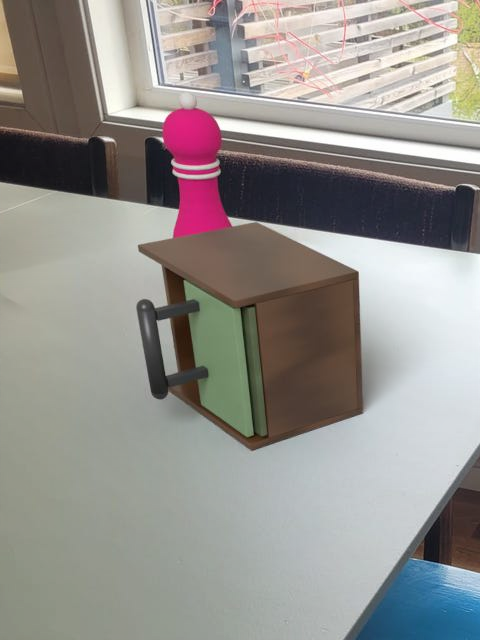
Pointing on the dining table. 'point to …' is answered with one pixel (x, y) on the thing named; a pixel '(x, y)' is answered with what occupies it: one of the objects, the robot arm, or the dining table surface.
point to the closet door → (203, 354)
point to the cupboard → (272, 325)
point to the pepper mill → (195, 167)
